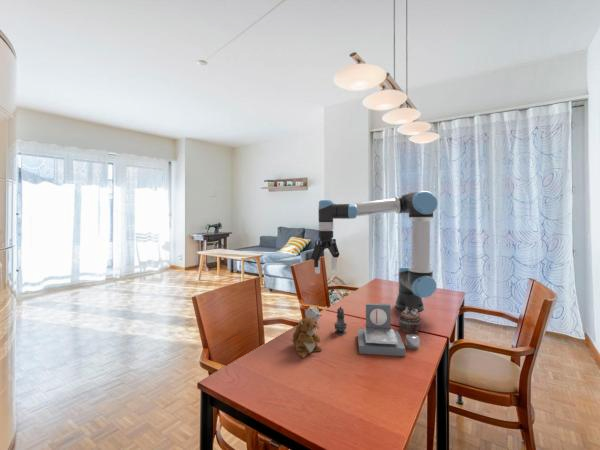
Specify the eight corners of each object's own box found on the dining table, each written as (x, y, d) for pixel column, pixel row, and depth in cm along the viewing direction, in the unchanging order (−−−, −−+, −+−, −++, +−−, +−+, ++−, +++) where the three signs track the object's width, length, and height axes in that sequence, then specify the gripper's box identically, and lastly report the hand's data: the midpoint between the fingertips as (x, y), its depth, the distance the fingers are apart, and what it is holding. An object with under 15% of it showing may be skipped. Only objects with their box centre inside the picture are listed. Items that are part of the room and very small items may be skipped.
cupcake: (399, 324, 141) (399, 303, 140) (421, 327, 137) (421, 306, 136) (397, 331, 132) (397, 309, 132) (420, 335, 128) (420, 312, 127)
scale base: (397, 338, 125) (398, 303, 125) (405, 356, 109) (405, 317, 109) (357, 335, 128) (357, 302, 127) (359, 353, 112) (359, 315, 111)
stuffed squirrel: (303, 359, 108) (303, 324, 107) (285, 345, 120) (284, 313, 119) (325, 352, 113) (324, 319, 112) (305, 339, 125) (305, 309, 124)
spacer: (417, 343, 120) (417, 334, 119) (420, 349, 115) (420, 339, 115) (404, 343, 120) (404, 333, 120) (407, 348, 116) (407, 338, 115)
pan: (393, 333, 122) (393, 329, 122) (398, 347, 110) (398, 341, 110) (363, 332, 124) (363, 327, 124) (365, 345, 112) (365, 340, 112)
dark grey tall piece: (333, 329, 135) (332, 304, 134) (345, 329, 135) (345, 303, 135) (335, 335, 129) (335, 308, 128) (348, 334, 129) (348, 308, 129)
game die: (315, 328, 145) (327, 312, 146) (311, 329, 138) (323, 311, 139) (302, 317, 149) (313, 301, 150) (297, 317, 142) (309, 300, 143)
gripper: (334, 229, 161) (334, 267, 161) (303, 231, 143) (304, 274, 143) (345, 229, 155) (345, 268, 156) (315, 231, 137) (315, 276, 138)
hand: (325, 271), depth 150 cm, fingers open, 13 cm apart
